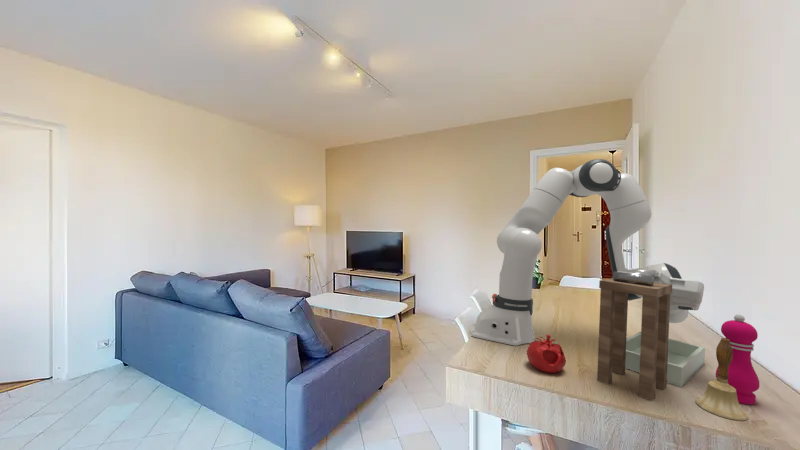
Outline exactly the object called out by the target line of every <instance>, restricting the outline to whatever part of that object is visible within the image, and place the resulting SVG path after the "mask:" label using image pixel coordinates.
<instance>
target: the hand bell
mask: <svg viewBox="0 0 800 450" xmlns="http://www.w3.org/2000/svg"><path fill="white" fill-rule="evenodd" d="M715 353H716V354H715V356H716V360H717V364H718V365H717V368H718V375H717V378H716V380H709V381H708V382H707V385H706V386H707V387H706V389H705V391H704V393H703V394H702V395H701V396H698V397H696V399H695V401H694V402H695V404H696V405H697V406H699V407H700V408H701V409H703V410H704V411H706V412H709V413H710V414H713V415H716V416H718V417H721V418H724V419H728V420H732V421H737V422H738V421H741V422H743V421H748V419H749V415H748V414H747V413H746V411H745V410H744V409H743V408H742V407H741V405H740V403H738V399H737V392H736V389H735V388H734V387H732V386H730V385H729V384H728V368H729V365H730V363H731V361H732V357H733V350H732V347H731V344H730V340H729V339H726V337H721V339H720V340H719V342H718V344H717V345H716V349H715ZM718 366H719V367H718Z"/></svg>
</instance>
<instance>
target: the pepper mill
mask: <svg viewBox="0 0 800 450" xmlns="http://www.w3.org/2000/svg"><path fill="white" fill-rule="evenodd" d="M733 319H734V320H733ZM733 319H731V320H726V321H724V322H723V323H722V324H721V327H720V332H721V334H722V335H723V336H724V338H726V339H729V340H730V344H731V347H732V350H733V357H732V361H731V363H730V365H729V368H728V384H729V385H730V386H732V387H734V388H735V389H736V392H737V399H738V403H739V404H744V405H751V406H752V405H755V404H756V403H757V396H756V394H755V392H756V391H758V390H759V389H760V386H761V385H760V380H759V377H758V376H759V375H757V373H756V370H755V369H754V366H753V364H752V352H753V351H754V350H755V349H754V348H755V345H754V343H753V342H755V341H756V340H758V331H757V329H756V327H754V326H753V325H752V324H750V323H748V322H745V320H746V318H745V317H744V316H743V315H742V314H735V315H734V316H733ZM718 367H719V365H717V367H716V370H715V377H716V379H717V375H718Z"/></svg>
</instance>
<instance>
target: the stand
mask: <svg viewBox="0 0 800 450" xmlns="http://www.w3.org/2000/svg"><path fill="white" fill-rule="evenodd" d="M598 282H599V284H598V288H599V289H600V300H599V319H598V320H599V323H598V325H599V326H598V327H599V328H598V347H597V349H598V350H597V351H598V352H597V373H596V376H597V377H596V380H597V381H599V382H601V383H603V384H606V385H609V384H610V383H612V382H613V373H614V372H615V373H614V374H617V373H618V375H620V374H621V376H622V375H624V374H625V373H626V368H625V362H626V339H627V334H628V332H627V331H628V311H629V310H628V309H629V308H628V307H629V304H628V303H629V300H628V293H631V294H637V295H643V297H642V300H641V301H642V302H641V303H642V304H641V306H642V307H641V309H642V310H641V329H640V332H641V350H640V373H639V375H638V376H639V377H638V379H639V380H638V383H639V384H638V397H640V398H643V399H646V400H648V401H651V402H652V401H654V400H655V399H656V388H657V387H658V388H657V389H660V390H663V391H664V390H666V389H667V387H668V386H667V384H668V383H667V364H668V340H669V339H670V338H669V337H670V332H669V331H670V323H669V315H670V293H672V285H671V284H664V283H657V282H654V285H653V286H648V285H641V284H631V283H627V282H621V281H614V279H613V277H611V278H607V279H600V280H599V281H598Z"/></svg>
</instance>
